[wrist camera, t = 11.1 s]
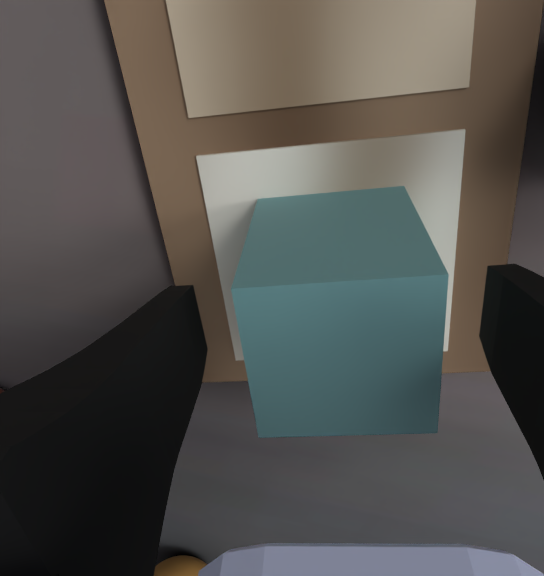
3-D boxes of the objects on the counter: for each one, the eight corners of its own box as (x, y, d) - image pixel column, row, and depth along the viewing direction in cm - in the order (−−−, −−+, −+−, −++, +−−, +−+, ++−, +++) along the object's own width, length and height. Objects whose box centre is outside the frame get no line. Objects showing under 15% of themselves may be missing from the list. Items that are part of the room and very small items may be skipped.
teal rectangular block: (402, 310, 15) (437, 433, 11) (274, 317, 15) (259, 437, 11) (404, 185, 13) (448, 274, 9) (257, 198, 13) (231, 289, 9)
